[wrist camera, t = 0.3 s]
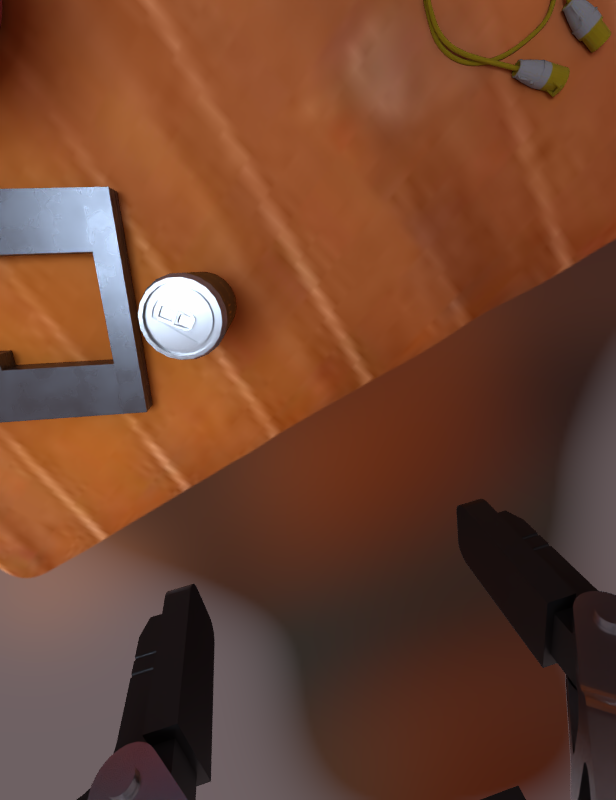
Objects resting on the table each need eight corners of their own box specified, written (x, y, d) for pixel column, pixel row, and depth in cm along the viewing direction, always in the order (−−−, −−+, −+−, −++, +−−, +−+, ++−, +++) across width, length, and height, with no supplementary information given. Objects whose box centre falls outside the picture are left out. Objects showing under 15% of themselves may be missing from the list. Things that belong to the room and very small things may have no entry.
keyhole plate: (117, 191, 32) (108, 186, 30) (152, 404, 38) (146, 411, 36) (-160, 197, 30) (-187, 192, 28) (-79, 420, 36) (-98, 429, 34)
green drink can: (166, 320, 36) (122, 343, 24) (186, 261, 34) (149, 257, 23) (224, 343, 37) (209, 375, 25) (245, 287, 36) (238, 295, 24)
